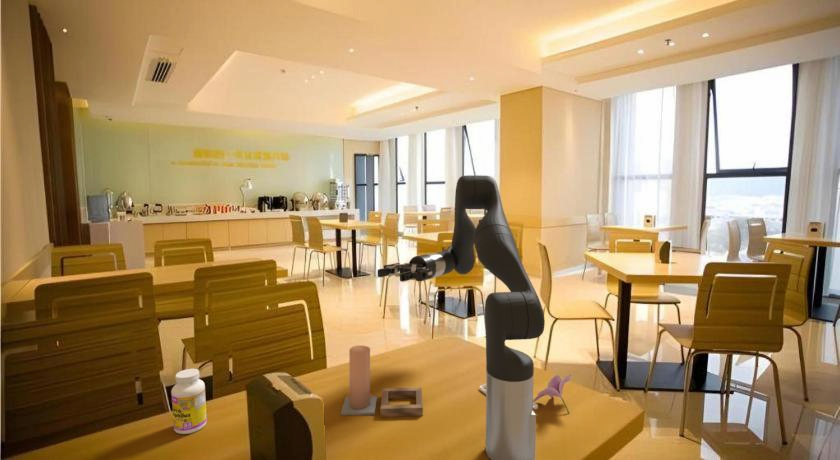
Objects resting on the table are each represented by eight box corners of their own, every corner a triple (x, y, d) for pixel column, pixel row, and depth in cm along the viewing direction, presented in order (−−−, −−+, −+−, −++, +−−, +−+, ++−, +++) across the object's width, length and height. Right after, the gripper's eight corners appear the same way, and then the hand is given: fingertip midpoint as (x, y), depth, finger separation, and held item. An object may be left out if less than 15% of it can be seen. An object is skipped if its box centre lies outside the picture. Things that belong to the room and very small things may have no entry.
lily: (579, 401, 107) (562, 364, 110) (597, 407, 96) (579, 365, 99) (536, 419, 106) (520, 381, 109) (550, 426, 95) (532, 384, 98)
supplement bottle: (166, 432, 93) (162, 377, 92) (190, 417, 100) (187, 365, 98) (190, 437, 91) (186, 381, 90) (213, 421, 98) (210, 368, 96)
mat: (377, 397, 108) (377, 395, 108) (374, 414, 100) (374, 412, 100) (345, 398, 108) (345, 396, 108) (340, 415, 100) (340, 413, 100)
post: (370, 398, 107) (370, 345, 105) (369, 409, 102) (369, 353, 100) (350, 398, 106) (350, 345, 105) (348, 409, 101) (348, 353, 100)
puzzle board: (421, 394, 109) (421, 387, 109) (422, 415, 99) (422, 407, 99) (383, 395, 109) (383, 388, 109) (380, 416, 99) (380, 408, 99)
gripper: (409, 252, 130) (371, 259, 118) (446, 256, 121) (408, 265, 109) (409, 275, 131) (371, 285, 119) (446, 282, 122) (409, 293, 110)
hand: (389, 275), depth 114 cm, fingers open, 8 cm apart
